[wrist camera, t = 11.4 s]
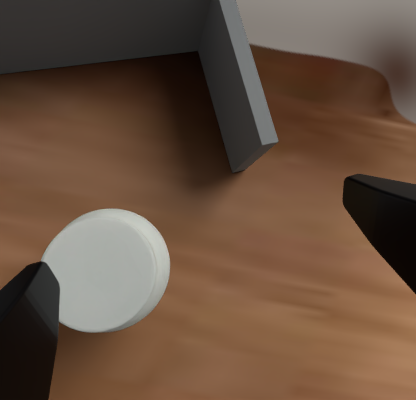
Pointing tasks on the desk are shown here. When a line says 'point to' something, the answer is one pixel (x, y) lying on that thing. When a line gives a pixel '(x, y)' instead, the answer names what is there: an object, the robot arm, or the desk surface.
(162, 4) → the open side box
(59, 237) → the supplement bottle
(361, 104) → the desk surface
